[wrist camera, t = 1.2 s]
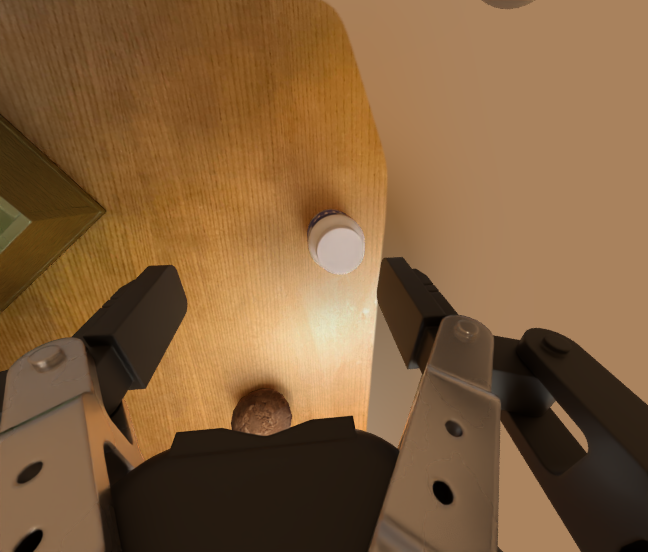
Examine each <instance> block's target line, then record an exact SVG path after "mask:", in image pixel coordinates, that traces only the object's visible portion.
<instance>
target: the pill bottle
mask: <svg viewBox="0 0 648 552" xmlns="http://www.w3.org/2000/svg"><path fill="white" fill-rule="evenodd" d="M307 238H308V249H309V252H310V255H311V257H312V259H313V260H314V261H315V262H316V263H317V264H318V265H319V266H320V267H322V268H324V269H325V270H326V271H328V272H330V273H333V274H339V275H341V274H347V273H349V272H352V271H353V270H355V269H356V268H357V267H358V266H359V265H360V263H361V262H362V260H363V257H364V252H365V237H364V234H363V231H362V229H361V227H360V226H359V225H358V224H357V222H356V221H354V220H353V219H352V218H350V217H349V216H347V215H346V214H345V213H343V212H341V211H339V210H335V209H327V210H323V211H321V212H319V213H317V214H316V215H315V216H314V217H313V218H312V220H311V221H310V223H309V226H308V231H307Z"/></svg>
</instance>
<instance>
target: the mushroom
mask: <svg viewBox="0 0 648 552" xmlns="http://www.w3.org/2000/svg"><path fill="white" fill-rule="evenodd" d="M291 419H292V414H291V410H290V407H289V403H288V402H287V401H286V399H285V398H284V396H283V395H282V394H280V393H279V392H277V391H275V390H273V389H260V390H257V391H254V392H251V393H250V394H248V395H246V396H245V397H243V398H242V399H240V401H239V403H238V404H237V406H236V407H235V409H234V411H233V416H232V421H231V426H232V430H235V431H240V432H245V433H251V434H256V435H261V436H268V435H272V434H274V433H277V432H280V431H282V430H285V429H288V428H290V426H291Z"/></svg>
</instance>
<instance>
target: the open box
mask: <svg viewBox="0 0 648 552" xmlns="http://www.w3.org/2000/svg"><path fill="white" fill-rule="evenodd" d="M105 212H106V210H105V209H103V208H102V207H101V206H100V205H99V204H98V203H97V202H96V201H95V200H94V199H93V198H91V197H90V196H89V195H88V194H87V193H86V192H85V191H84V190H83V189H82V188H80V187H79V186H78V185H77V184H76V183H75V182H74V181H73V180H72V179H71V178H69V177H68V176H67V175H66V174H65V173H64V172H63V171H62V170H61V169H60V168H58V167H57V166H56V165H55V164H54V163H53V162H52V161H51V160H50V159H49V158H48V157H46V156H45V155H44V154H43V153H42V152H41V151H40V150H39V149H38V148H37V147H35V146H34V145H33V144H32V143H31V142H30V141H29V140H28V139H27V138H26V137H24V136H23V135H22V134H21V133H20V132H19V131H18V130H17V129H16V128H15V127H14V126H12V125H11V124H10V123H9V122H8V121H7V120H6V119H5V118H4V117H3V116H1V115H0V313H1V312H2V311H3V310H4V309H5V308H6V307H7V306H8V305H9V304H11V303H12V302H13V301H14V300H15V299H16V298H17V297H18V296H19V295H20V294H21V293H22V292H23V291H24V290H25V289H26V288H27V287H28V286H29V285H30V284H31V283H32V282H33V281H34V280H35V279H37V278H38V277H39V276H40V275H41V274H42V273H43V272H44V271H45V270H46V269H47V268H48V267H49V266H50V265H51V264H52V263H53V262H54V261H55V260H56V259H57V258H58V257H59V256H60V255H61V254H63V253H64V252H65V251H66V250H67V249H68V248H69V247H70V246H71V245H72V244H73V243H74V242H75V241H76V240H77V239H78V238H79V237H80V236H81V235H82V234H83V233H84V232H85V231H86V230H87V229H88V228H90V227H91V226H92V225H93V224H94V223H95V222H96V221H97V220H98V219H99V218H100V217H101V216H102V215H103V214H104V213H105Z"/></svg>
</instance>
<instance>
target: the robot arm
mask: <svg viewBox="0 0 648 552" xmlns="http://www.w3.org/2000/svg"><path fill="white" fill-rule="evenodd" d="M377 300H378V304H379V306H380V308H381V311H382V313H383V315H384V317H385V320H386V322H387V324H388V326H389V329H390V331H391V333H392V336H393V338H394V340H395V342H396V345H397V347H398V349H399V351H400V353H401V356H402V358H403V360H404V363H405V365H406V367H407V369H416V368H420V370H421V372H422V377H421V379H420V382H419V385H418V388H417V392H416V394H415V397H414V401H413V404H412V407H411V410H410V413H409V416H408V419H407V422H406V425H405V428H404V431H403V434H402V436H401V440H400V442H399V445H398V448H396V447H394V446H393V445H392V444H390V443H389V442H387V441H385V440H384V439H382V438H380V437H378V436H376V435H374V434H371V433H368V432H365V431H362V430H357V429H355V425H354V420H353V416H345V417H334V418H324V419H313V420H309V421H306V422H304V423H301V424H298V425H296V426H293V427H290V428H288V429H285V430H282V431H280V432H277V433H274V434H272V435H268V436H261V435H256V434H251V433H245V432H240V431H235V430H229V429H224V428H217V429H207V430H196V431H186V432H176V435H175V438H174V440H173V443H172V446H171V448H170V449H168V450H166V451H164V452H162V453H159V454H157V455H155V456H153V457H151V458H150V459H148V460H146V461H145V460H144V458H143V455H142V453H141V450H140V447H139V444H138V440H137V437H136V434H135V430H134V427H133V423H132V420H131V416H130V413H129V409H128V406H127V403H126V401H125V400H124V398H123V397H124V396H125V394H126V392H127V391H128V390H135V389H146V387H147V385H148V383H149V381H150V379H151V378H152V376H153V374H154V372H155V370H156V368H157V366H158V365H159V363H160V361H161V359H162V357H163V355H164V353H165V352H166V350H167V348H168V346H169V344H170V342H171V340H172V339H173V337H174V335H175V333H176V331H177V329H178V327H179V325H180V324H181V322H182V320H183V318H184V316H185V314H186V312H187V298H186V295H185V292H184V290H183V287H182V284H181V281H180V278H179V275H178V272H177V270H176V268H175V267H174V266H173V265H158V266H148V267H147V268H146V269H145V270H144V271H143V272H142V273H141V274H140V275H139V276H138V277H137V279H136V280H133V281H131V282H129V283H128V284H126V285H124V286H123V287H121V288H120V289H119V290H118V291H117V292H116V293H115V294H114V295H113V296H112V297H111V298H110V300H108V301H107V302H106V303H105V304H104V305H103V306H102V308H100V309H99V310H98V311H97V312H96V313H95V314H94V315H93V316H92V317H91V318H90V319H89V320H88V321H87V322H86V323H85V324H84V325H83V326H82V327H81V328H80V329H79V330H78V331H77V332H76V333H75V334H74V335H73V336H72V337H71V338H62V339H58V340H54V341H51V342H48V343H45V344H43V345H41V346H39V347H37V348H35V349H33V350H31V351H29V352H28V353H26V354H25V355H23V356H22V357H21V358H19V359H18V360H17V361H16V362H15V363H14V364H13V365H12V366H11V367H10V369H9V370H5V371H1V372H0V552H503V551H502V550H501V549H500V548H499V547H498V546H497V545H498V502H499V455H500V420H501V422H502V424H503V425H504V427H505V428H506V430H507V432H508V433H509V435H510V437H511V438H512V440H513V441H514V443H515V445H516V446H517V448H518V450H519V451H520V453H521V455H522V456H523V457H524V459H525V461H526V463H527V464H528V466H529V468H530V469H531V471H532V472H533V474H534V476H535V477H536V479H537V480H538V482H539V484H540V485H541V487H542V489H543V490H544V492H545V494H546V495H547V497H548V499H549V500H550V502H551V503H552V505H553V507H554V508H555V510H556V511H557V513H558V515H559V516H560V518H561V520H562V521H563V523H564V524H565V526H566V528H567V529H568V531H569V533H570V534H571V536H572V538H573V539H574V541H575V543H576V544H577V546H578V547H579V549H580V551H581V552H648V405H647V404H646V403H644V402H643V401H642V400H641V399H640V398H639V397H638V396H637V395H635V394H634V393H633V392H632V391H631V390H630V389H629V388H627V387H626V386H625V385H624V384H623V383H622V382H620V381H619V380H618V379H617V378H616V377H615V376H614V375H612V374H611V373H610V372H609V371H608V370H607V369H606V368H604V367H603V366H602V365H601V364H600V363H599V362H597V361H596V360H595V359H594V358H593V357H592V356H591V355H589V354H588V353H587V352H586V351H584V350H583V349H582V348H581V347H580V346H579V345H578V344H577V343H575V342H574V341H572V340H571V339H569V338H567V337H565V336H563V335H561V334H559V333H556V332H553V331H551V330H547V329H541V328H532V329H529V330H527V331H526V332H525V333H524V335H523V336H522V338H521V340H515V339H510V338H504V337H499V336H494V335H492V333H491V331H490V330H489V329H488V328H487V327H486V326H485V325H483V324H482V323H480V322H478V321H477V320H474V319H472V318H470V317H466V316H462V315H458V314H457V312H456V311H455V310H454V309H453V307H452V306H451V305H450V304H449V303H448V301H447V300H446V299H445V298H444V297H443V295H442V294H441V293H440V292H439V291H438V289H437V288H436V287H435V286H434V285H433V283H432V282H431V281H430V279H429V278H428V277H427V276H426V275H425V274H423V273H422V272H420V271H419V270H417V269H412V268H411V267H410V266H409V264H408V263H407V262H406V261H405V259H404V258H403V257H395V258H384V259H383V260H382V262H381V268H380V274H379V281H378V287H377ZM555 401H557V402H558V403H559V405H560V406H561V407H562V408H563V409H564V410H565V411H566V413H567V414H568V415H569V416H570V418H571V419H572V420H573V421H574V422H575V423H576V425H577V426H578V427H579V428H580V429H581V431H582V432H583V433H584V435H585V437H586V439H587V442H588V453H586V452H585V450H584V449H583V448H582V446H581V445H580V444H579V443H578V442H577V440H576V439H575V438H574V437H573V436H572V434H571V433H570V432H569V430H568V429H567V428H566V427H565V426H564V424H563V423H562V422H561V421H560V419H559V418H558V417H557V416H556V414H555V413H554V412H553V411H552V410H551V408H550V407H551V406H552V404H553V403H554V402H555Z"/></svg>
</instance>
